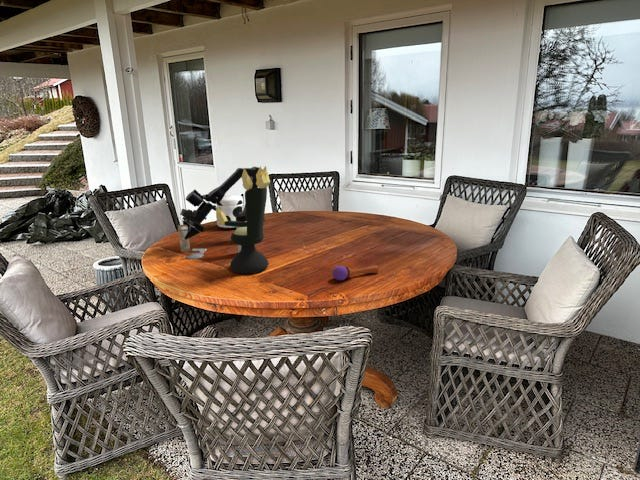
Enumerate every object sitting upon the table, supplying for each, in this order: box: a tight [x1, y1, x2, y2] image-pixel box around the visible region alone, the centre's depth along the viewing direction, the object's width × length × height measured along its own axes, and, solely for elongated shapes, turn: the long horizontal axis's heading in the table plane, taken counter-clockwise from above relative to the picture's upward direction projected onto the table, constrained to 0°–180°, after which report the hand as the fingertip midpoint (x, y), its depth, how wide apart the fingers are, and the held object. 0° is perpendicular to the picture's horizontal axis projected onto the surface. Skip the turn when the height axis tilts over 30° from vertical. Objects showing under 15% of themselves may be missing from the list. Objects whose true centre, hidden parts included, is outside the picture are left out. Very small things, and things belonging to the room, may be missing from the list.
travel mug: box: [235, 213, 247, 254], centre depth 202 cm, size 6×7×20 cm
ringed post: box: [177, 224, 191, 253], centre depth 210 cm, size 5×5×13 cm
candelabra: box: [215, 165, 271, 275], centre depth 178 cm, size 19×22×45 cm
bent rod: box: [191, 248, 208, 254], centre depth 210 cm, size 7×5×1 cm
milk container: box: [216, 194, 244, 230], centre depth 253 cm, size 17×17×18 cm
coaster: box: [186, 252, 205, 260], centre depth 203 cm, size 8×8×1 cm
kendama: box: [332, 264, 380, 282], centre depth 172 cm, size 6×6×20 cm
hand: (182, 237), depth 209 cm, fingers open, 9 cm apart
